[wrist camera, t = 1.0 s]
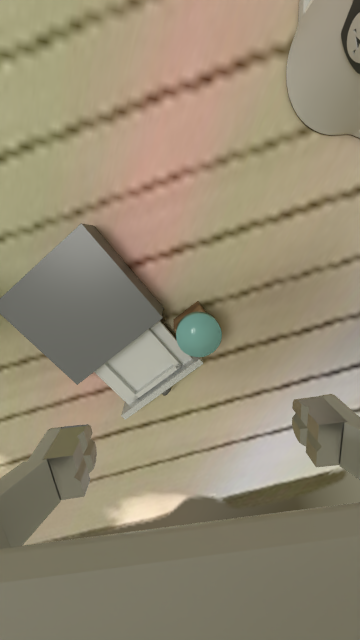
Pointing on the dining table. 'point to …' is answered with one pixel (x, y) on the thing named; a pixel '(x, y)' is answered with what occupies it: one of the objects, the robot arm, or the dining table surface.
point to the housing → (81, 304)
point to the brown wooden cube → (191, 309)
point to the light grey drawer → (147, 368)
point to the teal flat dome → (198, 334)
